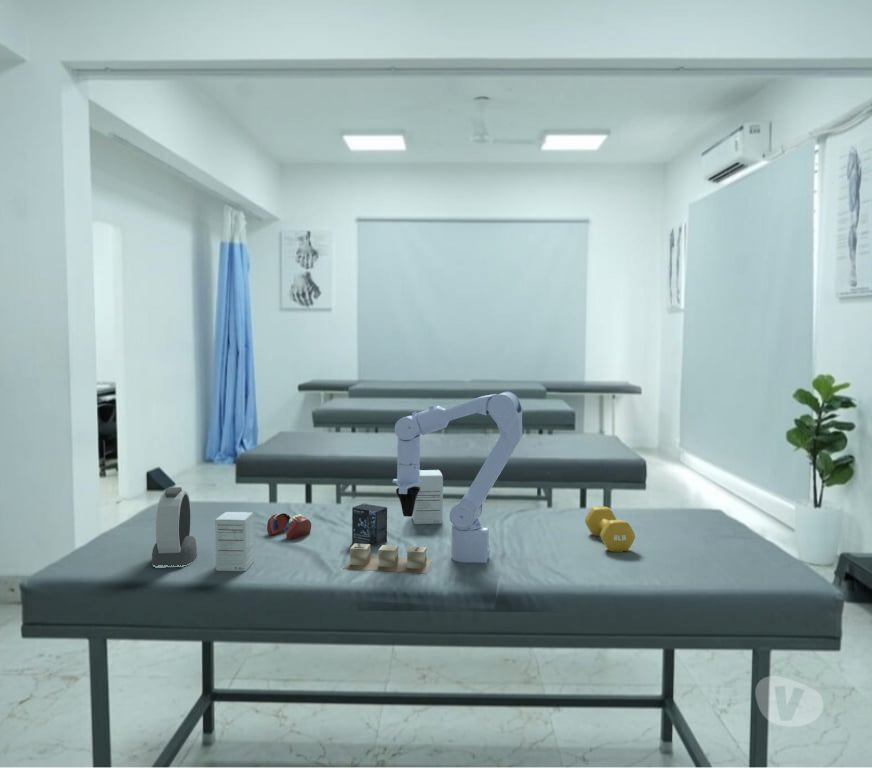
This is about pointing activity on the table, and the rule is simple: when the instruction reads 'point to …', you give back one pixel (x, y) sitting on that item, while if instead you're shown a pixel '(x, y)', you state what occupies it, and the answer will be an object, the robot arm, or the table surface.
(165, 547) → the alarm clock
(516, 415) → the robot arm
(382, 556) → the plain block
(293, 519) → the teeth model
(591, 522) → the dumbbell
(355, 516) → the box
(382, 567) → the walnut board
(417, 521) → the supplement box
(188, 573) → the table surface
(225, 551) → the supplement box
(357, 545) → the letter t cube
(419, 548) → the block one
